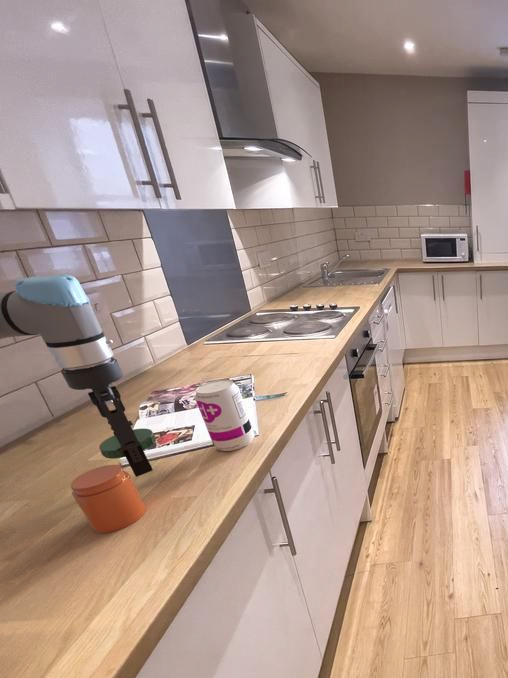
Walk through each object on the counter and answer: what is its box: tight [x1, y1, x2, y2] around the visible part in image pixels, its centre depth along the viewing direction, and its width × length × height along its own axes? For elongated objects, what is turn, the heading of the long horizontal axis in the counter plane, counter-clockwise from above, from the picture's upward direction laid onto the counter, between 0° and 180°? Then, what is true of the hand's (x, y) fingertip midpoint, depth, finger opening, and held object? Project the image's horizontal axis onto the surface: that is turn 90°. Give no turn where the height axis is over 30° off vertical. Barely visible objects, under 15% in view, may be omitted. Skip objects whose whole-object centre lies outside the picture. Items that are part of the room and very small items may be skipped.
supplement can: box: [194, 379, 255, 452], centre depth 94 cm, size 8×8×15 cm
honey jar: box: [70, 464, 147, 534], centre depth 73 cm, size 7×7×10 cm
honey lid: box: [98, 428, 157, 460], centre depth 82 cm, size 8×8×2 cm
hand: (139, 464), depth 84 cm, fingers closed on honey lid, 8 cm apart
